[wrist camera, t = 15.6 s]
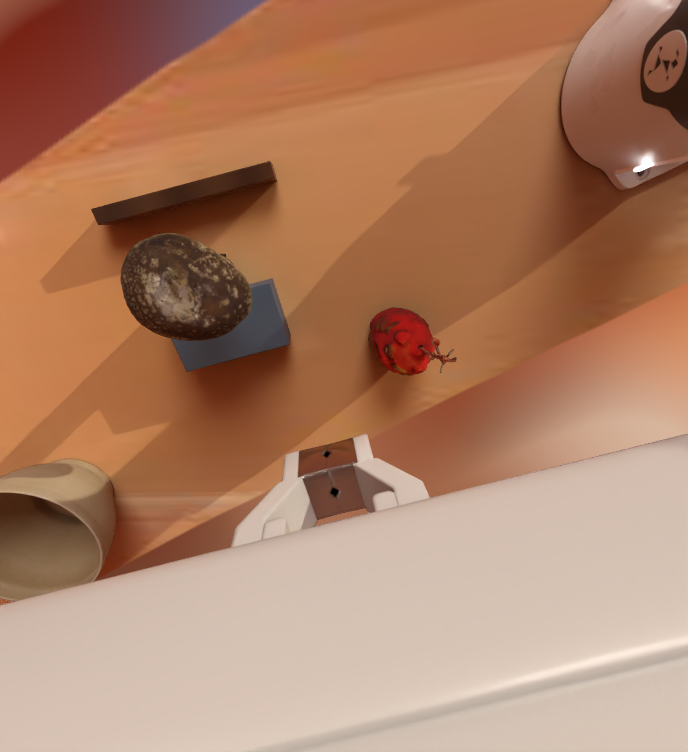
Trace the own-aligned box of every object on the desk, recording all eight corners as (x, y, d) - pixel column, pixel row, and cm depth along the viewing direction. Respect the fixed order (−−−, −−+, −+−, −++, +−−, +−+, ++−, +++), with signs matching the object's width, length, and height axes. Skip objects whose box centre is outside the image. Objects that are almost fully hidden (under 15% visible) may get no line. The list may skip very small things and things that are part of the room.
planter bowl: (109, 549, 56) (65, 622, 46) (-8, 500, 51) (-86, 569, 41) (162, 474, 52) (127, 535, 42) (41, 413, 47) (-32, 466, 37)
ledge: (272, 164, 39) (270, 160, 37) (277, 180, 39) (275, 178, 37) (103, 209, 39) (90, 209, 37) (110, 225, 40) (98, 225, 37)
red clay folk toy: (354, 324, 46) (373, 369, 32) (403, 290, 45) (445, 321, 31) (388, 371, 49) (419, 432, 35) (435, 340, 47) (486, 389, 34)
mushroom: (159, 265, 42) (83, 287, 28) (214, 209, 40) (163, 203, 26) (224, 328, 45) (184, 376, 31) (277, 279, 43) (261, 306, 29)
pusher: (272, 278, 43) (269, 282, 40) (290, 335, 46) (289, 344, 43) (171, 305, 43) (159, 312, 40) (195, 361, 46) (186, 371, 43)
